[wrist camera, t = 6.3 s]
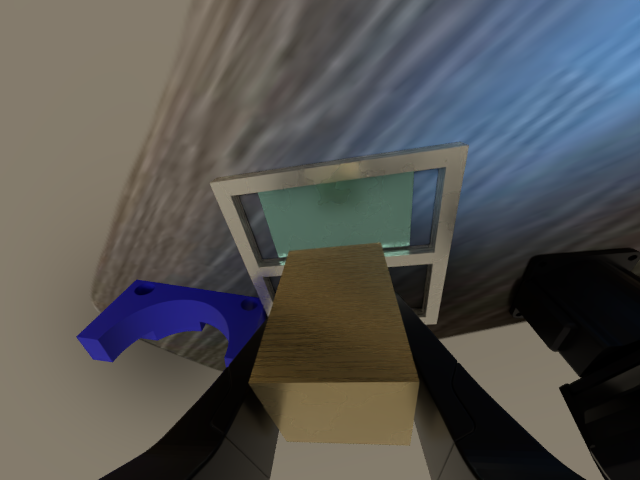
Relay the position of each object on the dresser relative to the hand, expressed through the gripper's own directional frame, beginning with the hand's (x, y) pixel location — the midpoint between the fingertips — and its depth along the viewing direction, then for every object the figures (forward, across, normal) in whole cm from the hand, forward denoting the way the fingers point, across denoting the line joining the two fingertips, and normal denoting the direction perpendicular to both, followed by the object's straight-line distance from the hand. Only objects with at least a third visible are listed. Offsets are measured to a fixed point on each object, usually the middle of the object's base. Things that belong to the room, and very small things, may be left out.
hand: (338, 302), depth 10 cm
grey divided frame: (+8, 0, +3) cm, 8 cm away
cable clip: (+8, +14, +8) cm, 18 cm away
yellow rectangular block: (+1, 0, 0) cm, 1 cm away
